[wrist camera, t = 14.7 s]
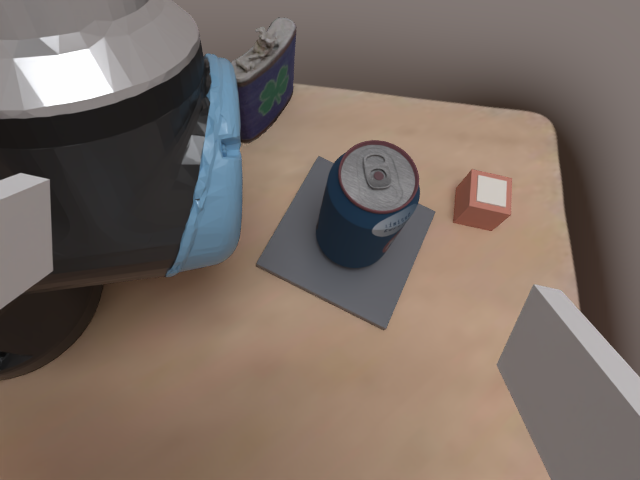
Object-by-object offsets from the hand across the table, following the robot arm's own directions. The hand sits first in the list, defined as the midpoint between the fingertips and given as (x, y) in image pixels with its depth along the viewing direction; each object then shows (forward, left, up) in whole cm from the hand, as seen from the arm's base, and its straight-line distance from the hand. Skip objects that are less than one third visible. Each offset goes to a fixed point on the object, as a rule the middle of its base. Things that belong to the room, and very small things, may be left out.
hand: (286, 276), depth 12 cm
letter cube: (+11, +23, -28) cm, 38 cm away
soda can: (+1, +14, -27) cm, 30 cm away
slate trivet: (+1, +14, -28) cm, 31 cm away
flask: (-13, +23, -28) cm, 38 cm away
